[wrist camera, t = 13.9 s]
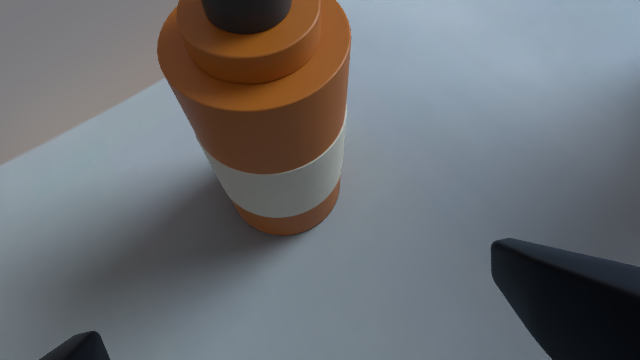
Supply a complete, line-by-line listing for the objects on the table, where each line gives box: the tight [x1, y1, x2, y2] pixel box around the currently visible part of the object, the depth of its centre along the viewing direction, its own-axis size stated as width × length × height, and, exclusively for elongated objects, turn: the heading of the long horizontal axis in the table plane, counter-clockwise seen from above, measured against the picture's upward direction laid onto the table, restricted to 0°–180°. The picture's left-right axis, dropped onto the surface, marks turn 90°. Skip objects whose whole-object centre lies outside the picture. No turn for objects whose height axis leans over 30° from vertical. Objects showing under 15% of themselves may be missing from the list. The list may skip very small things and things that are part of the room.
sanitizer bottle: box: [157, 0, 351, 235], centre depth 14 cm, size 6×6×14 cm
